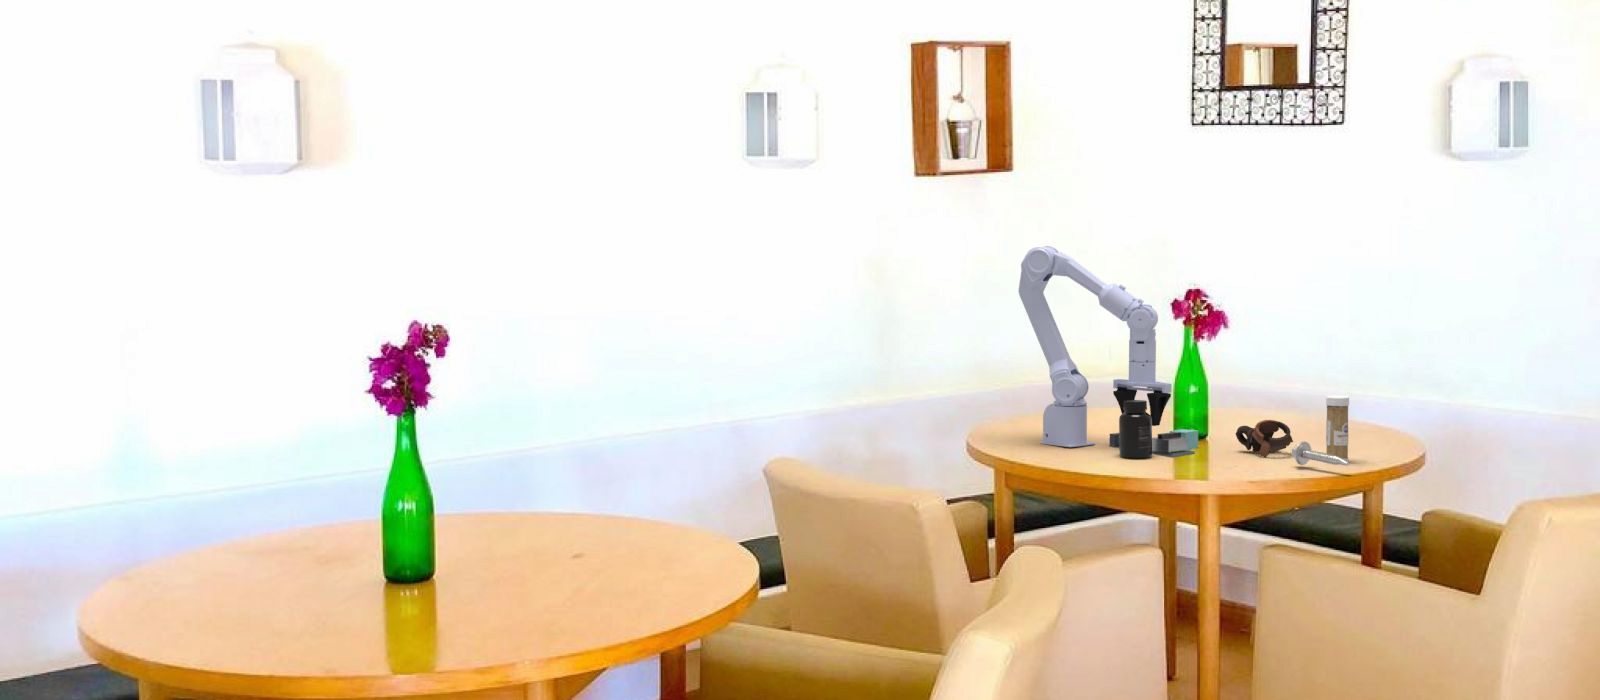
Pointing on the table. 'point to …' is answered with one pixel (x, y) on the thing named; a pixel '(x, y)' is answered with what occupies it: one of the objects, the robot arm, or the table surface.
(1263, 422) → the brown looped part
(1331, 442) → the sprinkles bottle
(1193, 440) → the teal block
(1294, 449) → the screw
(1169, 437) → the grey stepped block
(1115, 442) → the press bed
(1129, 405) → the supplement bottle
